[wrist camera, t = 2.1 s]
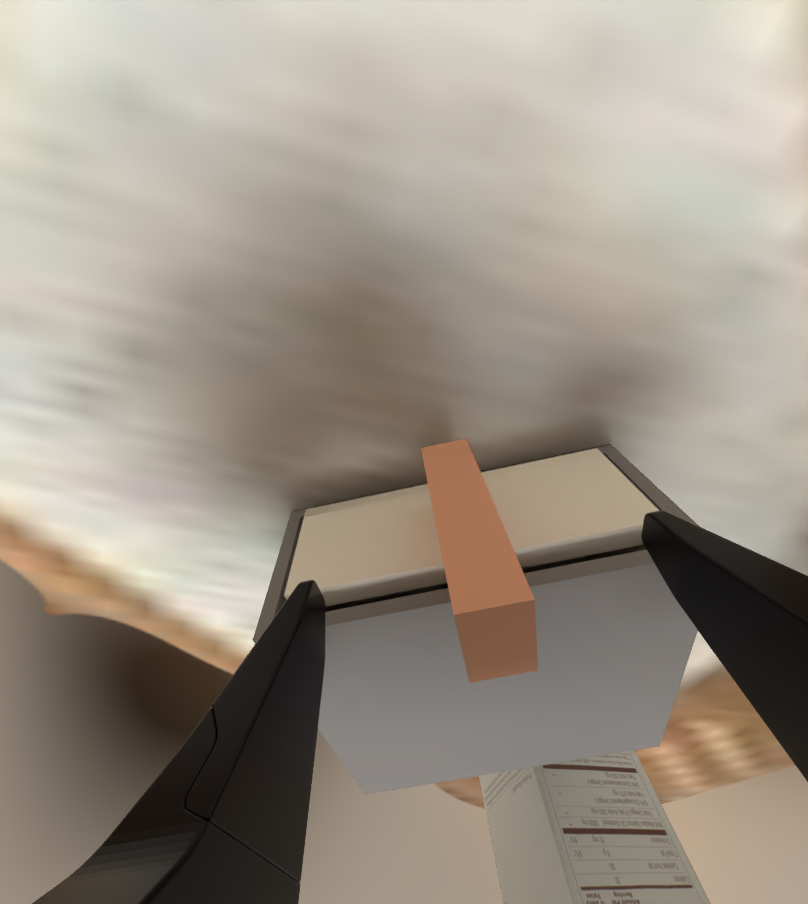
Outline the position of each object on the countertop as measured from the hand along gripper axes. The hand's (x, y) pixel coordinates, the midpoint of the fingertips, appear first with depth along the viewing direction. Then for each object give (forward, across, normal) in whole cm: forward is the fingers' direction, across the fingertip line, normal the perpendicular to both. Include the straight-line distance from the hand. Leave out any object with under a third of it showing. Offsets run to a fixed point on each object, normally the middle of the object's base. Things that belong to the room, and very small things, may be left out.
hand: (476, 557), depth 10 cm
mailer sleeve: (+6, 0, +8) cm, 10 cm away
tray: (+5, 0, +6) cm, 8 cm away
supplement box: (+6, -3, +23) cm, 24 cm away
